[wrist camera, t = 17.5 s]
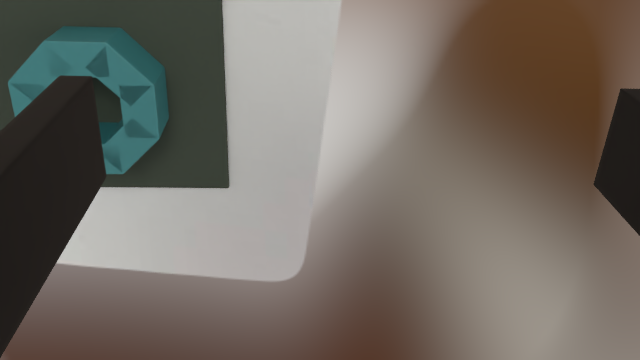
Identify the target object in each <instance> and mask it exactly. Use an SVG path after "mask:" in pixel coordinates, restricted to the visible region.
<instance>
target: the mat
mask: <svg viewBox="0 0 640 360" xmlns="http://www.w3.org/2000/svg"><path fill="white" fill-rule="evenodd" d="M63 26H76V27H117V28H122V29H123V30H124V31H125V32H126V33H127V34H128V35H129V36H131V37H132V38H133V39H134V40H135V41H136V42H137V43H138V44H139V45H141V46H142V47H143V48H144V49H145V50H146V51H147V52H148V53H149V54H150V55H152V56H153V57H154V58H155V59H156V60H157V61H158V62H159V63H160V64H162V65H163V66H164V68H165V76H166V88H167V99H168V111H169V119H168V121H167V123H166V125H165V128H164V130H163V132H162V134H161V136H160V138H159V140H158V141H157V142H156V143H155V144H154V145H153V146H152V147H151V148H150V149H149V150H148V151H147V152H146V153H145V154H144V155H143V156H142V157H141V158H140V159H139V160H138V161H136V162H135V163H134V164H133V165H132V166H131V167H130V168H129V169H128V170H127V171H126V172H125V173H124V174H106V176H107V177H106V179H105V180H104V182H103V184H102V186H101V187H181V188H228V187H229V176H228V150H227V123H226V97H225V71H224V45H223V19H222V0H0V131H1V130H2V129H3V128H4V127H5V126H6V125H7V124H8V123H9V122H10V121H12V120H13V119H14V118H15V115H14V111H13V106H12V101H11V96H10V92H9V87H8V81H9V79H10V78H11V77H12V76H13V75H14V74H15V73H16V71H17V70H18V69H19V68H20V67H21V66H22V65H23V63H24V62H25V61H26V60H27V59H28V58H29V57H30V56H31V54H32V53H33V52H34V51H35V50H36V49H37V48H38V46H39V45H40V44H41V43H42V42H43V41H44V40H46V39H47V38H48V37H50V36H51V35H52V34H54V33H55V32H56V31H58V30H59V29H60V28H62V27H63ZM92 80H93V86H94V93H95V100H96V107H97V114H98V121H99V122H110V123H119V122H120V121H121V120H122V111H121V103H120V98H119V97H118V96H117V95H116V94H115V93H114V92H112V91H111V90H110V89H109V88H108V87H106V86H105V85H104V84H103V83H102V82H101V81H99V80H98V79H97V78H92Z"/></svg>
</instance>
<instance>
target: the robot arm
mask: <svg viewBox="0 0 640 360" xmlns="http://www.w3.org/2000/svg"><path fill="white" fill-rule="evenodd" d="M106 177H107V176H106V169H105V162H104V155H103V148H102V141H101V135H100V128H99V121H98V114H97V107H96V100H95V93H94V86H93V80H92V76H65V75H60V76H59V77H57V78H56V79H55V80H54V81H53V82H52V83H51V84H50V85H49V86H48V87H47V88H46V89H45V90H44V91H43V92H41V93H40V94H39V95H38V96H37V97H36V98H35V99H34V100H33V101H32V102H31V103H30V104H29V105H28V106H27V107H25V108H24V109H23V110H22V111H21V112H20V113H19V114H18V115H17V116H16V117H15V118H14V119H13V120H12V121H10V122H9V123H8V124H7V125H6V126H5V127H4V128H3V129H2V130H1V131H0V357H1V356H2V354H3V352H4V351H5V349H6V347H7V346H8V344H9V342H10V340H11V338H12V337H13V335H14V334H15V332H16V330H17V328H18V327H19V325H20V323H21V322H22V320H23V318H24V316H25V315H26V313H27V311H28V310H29V308H30V306H31V305H32V303H33V301H34V300H35V298H36V296H37V294H38V293H39V291H40V289H41V288H42V286H43V284H44V282H45V281H46V279H47V277H48V276H49V274H50V272H51V271H52V269H53V267H54V266H55V264H56V262H57V260H58V259H59V257H60V255H61V254H62V252H63V250H64V249H65V247H66V245H67V243H68V242H69V240H70V238H71V237H72V235H73V233H74V231H75V230H76V228H77V226H78V225H79V223H80V221H81V220H82V218H83V216H84V214H85V213H86V211H87V209H88V208H89V206H90V204H91V203H92V201H93V199H94V197H95V196H96V194H97V192H98V191H99V189H100V187H101V186H102V184H103V182H104V180H105V179H106ZM594 186H595V187H596V188H597V189H598V190H599V191H600V192H601V193H602V194H603V195H604V197H605V198H606V199H607V200H608V201H609V202H610V203H611V204H612V206H613V207H614V208H615V209H616V210H617V211H618V212H619V213H620V214H621V216H622V217H623V218H624V219H625V220H626V221H627V222H628V223H629V224H630V226H631V227H632V228H633V229H634V230H635V231H636V232H637V233H638V234H639V235H640V89H620V93H619V96H618V100H617V104H616V107H615V110H614V114H613V117H612V121H611V124H610V128H609V132H608V135H607V139H606V142H605V146H604V149H603V153H602V156H601V160H600V163H599V167H598V170H597V174H596V178H595V181H594Z"/></svg>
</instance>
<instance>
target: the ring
mask: <svg viewBox="0 0 640 360" xmlns="http://www.w3.org/2000/svg"><path fill="white" fill-rule="evenodd" d="M60 75H65V76H92V78H97V79H98V80H99V81H101V82H102V83H103V84H104V85H105V86H106V87H108V88H109V89H110V90H111V91H112V92H114V93H115V94H116V95H117V96H118V97H119V98H120V103H121V111H122V120H121V121H120V122H119V123H110V122H99V128H100V135H101V141H102V148H103V155H104V162H105V169H106V174H124V173H125V172H126V171H127V170H128V169H129V168H130V167H131V166H132V165H133V164H134V163H135V162H136V161H138V160H139V159H140V158H141V157H142V156H143V155H144V154H145V153H146V152H147V151H148V150H149V149H150V148H151V147H152V146H153V145H154V144H155V143H156V142H157V141H158V140H159V138H160V136H161V134H162V132H163V130H164V128H165V125H166V123H167V121H168V119H169V111H168V99H167V88H166V76H165V68H164V66H163V65H162V64H160V63H159V62H158V61H157V60H156V59H155V58H154V57H153V56H152V55H150V54H149V53H148V52H147V51H146V50H145V49H144V48H143V47H142V46H141V45H139V44H138V43H137V42H136V41H135V40H134V39H133V38H132V37H131V36H129V35H128V34H127V33H126V32H125V31H124V30H123V29H122V28H117V27H76V26H63V27H62V28H60V29H59V30H58V31H56V32H55V33H54V34H52V35H51V36H50V37H48V38H47V39H46V40H44V41H43V42H42V43H41V44H40V45H39V46H38V48H37V49H36V50H35V51H34V52H33V53H32V54H31V56H30V57H29V58H28V59H27V60H26V61H25V62H24V63H23V65H22V66H21V67H20V68H19V69H18V70H17V71H16V73H15V74H14V75H13V76H12V77H11V78H10V79H9V81H8V87H9V92H10V96H11V101H12V106H13V111H14V115H15V117H16V116H17V115H18V114H19V113H20V112H21V111H22V110H23V109H24V108H25V107H27V106H28V105H29V104H30V103H31V102H32V101H33V100H34V99H35V98H36V97H37V96H38V95H39V94H40V93H41V92H43V91H44V90H45V89H46V88H47V87H48V86H49V85H50V84H51V83H52V82H53V81H54V80H55V79H56V78H57V77H59V76H60Z"/></svg>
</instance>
